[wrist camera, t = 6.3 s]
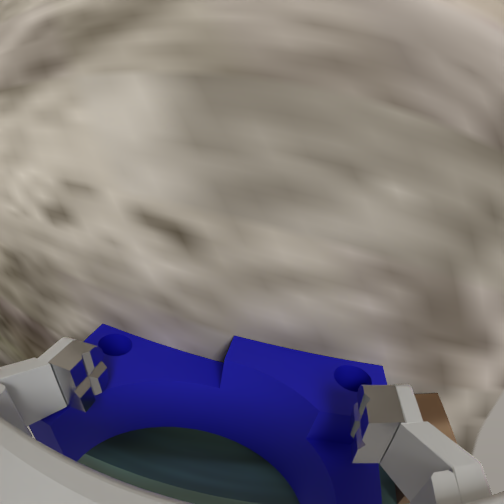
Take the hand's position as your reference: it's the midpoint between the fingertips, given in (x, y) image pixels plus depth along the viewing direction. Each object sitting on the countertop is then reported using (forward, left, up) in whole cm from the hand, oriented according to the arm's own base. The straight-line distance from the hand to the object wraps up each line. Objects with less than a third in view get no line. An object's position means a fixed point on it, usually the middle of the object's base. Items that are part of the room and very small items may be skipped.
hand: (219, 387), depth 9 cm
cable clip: (+2, -1, -3) cm, 4 cm away
